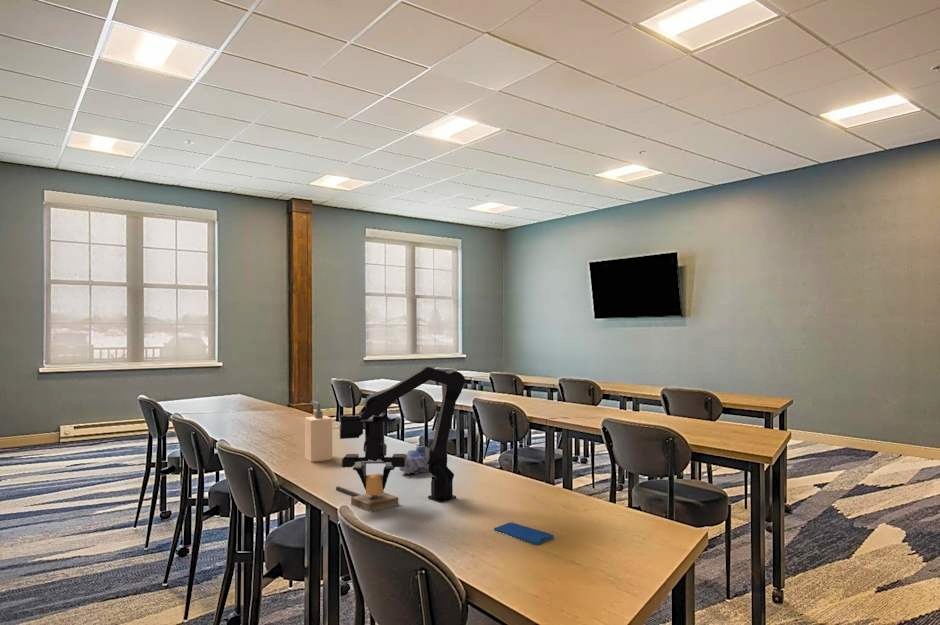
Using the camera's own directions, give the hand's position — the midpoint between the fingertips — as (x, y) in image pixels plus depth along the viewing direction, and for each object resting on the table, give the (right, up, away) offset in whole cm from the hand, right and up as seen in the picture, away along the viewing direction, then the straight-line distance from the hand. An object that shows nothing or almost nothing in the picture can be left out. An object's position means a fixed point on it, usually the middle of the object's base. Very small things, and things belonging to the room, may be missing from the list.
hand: (374, 489), depth 173 cm
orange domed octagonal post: (0, -1, 0) cm, 1 cm away
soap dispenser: (-33, -6, +60) cm, 69 cm away
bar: (-9, -5, +9) cm, 14 cm away
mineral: (+9, -5, +37) cm, 39 cm away
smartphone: (+42, -4, -25) cm, 49 cm away
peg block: (0, -4, 0) cm, 4 cm away
